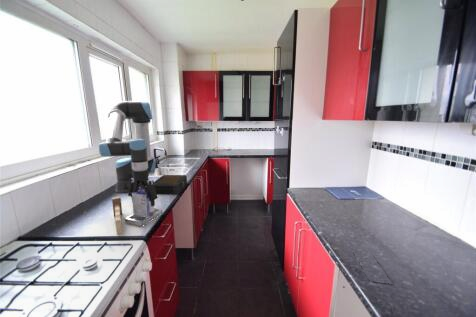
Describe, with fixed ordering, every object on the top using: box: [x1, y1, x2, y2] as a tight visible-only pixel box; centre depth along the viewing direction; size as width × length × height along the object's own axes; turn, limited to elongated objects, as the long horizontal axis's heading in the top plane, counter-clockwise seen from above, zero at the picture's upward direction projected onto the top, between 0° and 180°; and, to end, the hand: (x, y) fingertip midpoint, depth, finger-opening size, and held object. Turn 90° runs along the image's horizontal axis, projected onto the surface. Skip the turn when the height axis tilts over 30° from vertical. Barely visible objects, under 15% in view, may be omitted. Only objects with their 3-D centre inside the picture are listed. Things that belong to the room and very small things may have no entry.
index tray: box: [124, 207, 163, 227], centre depth 108 cm, size 15×11×2 cm
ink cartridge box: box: [131, 187, 155, 217], centre depth 107 cm, size 10×6×14 cm, turn 71°
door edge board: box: [111, 196, 123, 235], centre depth 102 cm, size 24×4×10 cm, turn 31°
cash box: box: [154, 174, 188, 196], centre depth 154 cm, size 25×20×8 cm
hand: (143, 210), depth 108 cm, fingers closed on ink cartridge box, 10 cm apart
